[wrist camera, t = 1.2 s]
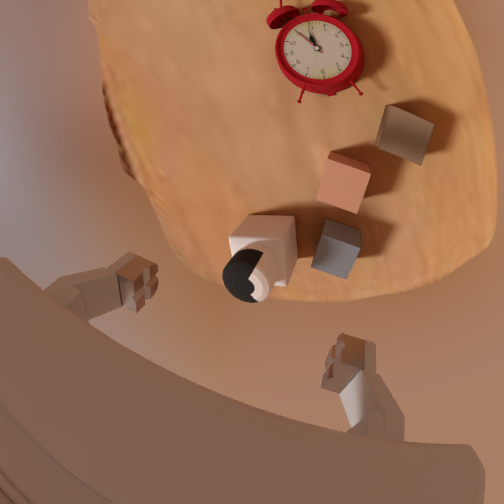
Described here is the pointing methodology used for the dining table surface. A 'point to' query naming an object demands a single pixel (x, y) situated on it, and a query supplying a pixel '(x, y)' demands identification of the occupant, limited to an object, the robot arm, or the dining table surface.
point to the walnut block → (404, 134)
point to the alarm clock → (317, 48)
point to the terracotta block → (343, 182)
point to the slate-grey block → (337, 249)
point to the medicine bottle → (261, 256)
